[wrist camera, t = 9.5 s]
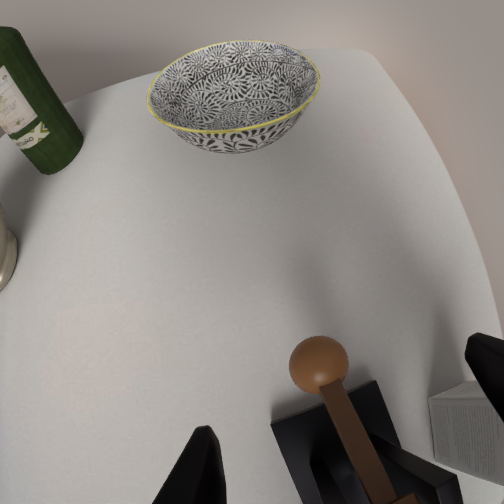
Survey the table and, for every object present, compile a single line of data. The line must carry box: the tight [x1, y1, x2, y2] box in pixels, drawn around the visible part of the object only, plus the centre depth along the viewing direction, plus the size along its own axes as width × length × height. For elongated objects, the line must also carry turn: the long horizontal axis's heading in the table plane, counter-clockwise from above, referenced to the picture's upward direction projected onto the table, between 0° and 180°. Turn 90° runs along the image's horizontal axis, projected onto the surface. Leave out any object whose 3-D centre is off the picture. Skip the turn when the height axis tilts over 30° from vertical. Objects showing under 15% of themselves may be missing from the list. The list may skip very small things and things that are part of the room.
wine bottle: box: [0, 27, 83, 175], centre depth 20 cm, size 8×8×30 cm
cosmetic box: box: [428, 380, 504, 486], centre depth 12 cm, size 6×4×12 cm
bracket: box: [270, 380, 463, 504], centre depth 11 cm, size 12×8×13 cm, turn 20°
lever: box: [289, 336, 420, 504], centre depth 11 cm, size 13×3×3 cm, turn 20°
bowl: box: [147, 40, 320, 153], centre depth 28 cm, size 16×16×8 cm
